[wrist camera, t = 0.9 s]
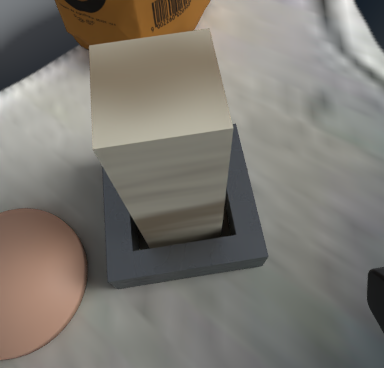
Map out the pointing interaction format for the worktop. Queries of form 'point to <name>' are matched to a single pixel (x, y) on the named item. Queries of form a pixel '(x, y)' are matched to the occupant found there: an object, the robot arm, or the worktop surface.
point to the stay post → (163, 132)
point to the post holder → (192, 251)
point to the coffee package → (127, 18)
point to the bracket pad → (37, 279)
